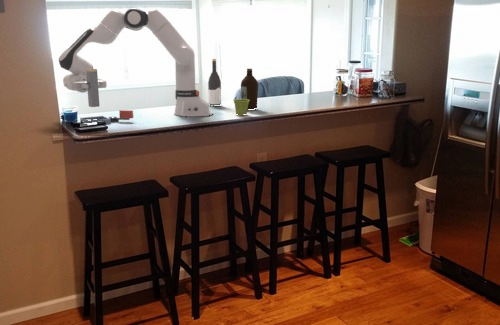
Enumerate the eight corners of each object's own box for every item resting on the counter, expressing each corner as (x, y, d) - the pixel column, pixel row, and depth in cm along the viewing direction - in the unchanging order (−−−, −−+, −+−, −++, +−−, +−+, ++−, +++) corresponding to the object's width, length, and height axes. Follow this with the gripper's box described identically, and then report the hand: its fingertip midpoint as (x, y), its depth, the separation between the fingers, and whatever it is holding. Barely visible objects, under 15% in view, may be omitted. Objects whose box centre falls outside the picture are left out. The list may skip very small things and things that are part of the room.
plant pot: (252, 114, 285) (252, 99, 283) (244, 116, 277) (244, 101, 275) (238, 113, 289) (238, 98, 287) (230, 115, 282) (230, 100, 279)
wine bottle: (214, 104, 325) (213, 58, 317) (223, 105, 320) (223, 58, 313) (206, 105, 319) (205, 58, 311) (215, 107, 314) (214, 59, 306)
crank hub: (120, 120, 264) (119, 118, 264) (117, 122, 258) (117, 120, 258) (108, 120, 264) (108, 118, 263) (105, 122, 258) (105, 120, 258)
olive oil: (252, 108, 311) (253, 67, 304) (261, 110, 302) (261, 69, 295) (237, 109, 306) (237, 68, 299) (245, 111, 297) (245, 69, 290)
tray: (103, 120, 265) (102, 115, 264) (110, 123, 255) (110, 118, 255) (80, 122, 258) (80, 117, 257) (87, 125, 248) (87, 121, 248)
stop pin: (96, 105, 257) (93, 68, 252) (99, 106, 254) (97, 69, 249) (88, 106, 254) (85, 69, 250) (92, 107, 252) (89, 69, 247)
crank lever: (107, 120, 259) (107, 110, 257) (110, 118, 263) (109, 109, 261) (132, 120, 258) (131, 111, 257) (134, 119, 262) (133, 110, 260)
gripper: (61, 79, 253) (73, 81, 243) (98, 77, 267) (111, 78, 257) (62, 91, 255) (74, 93, 245) (99, 88, 268) (111, 90, 259)
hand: (93, 86), depth 251 cm, fingers closed on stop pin, 4 cm apart
